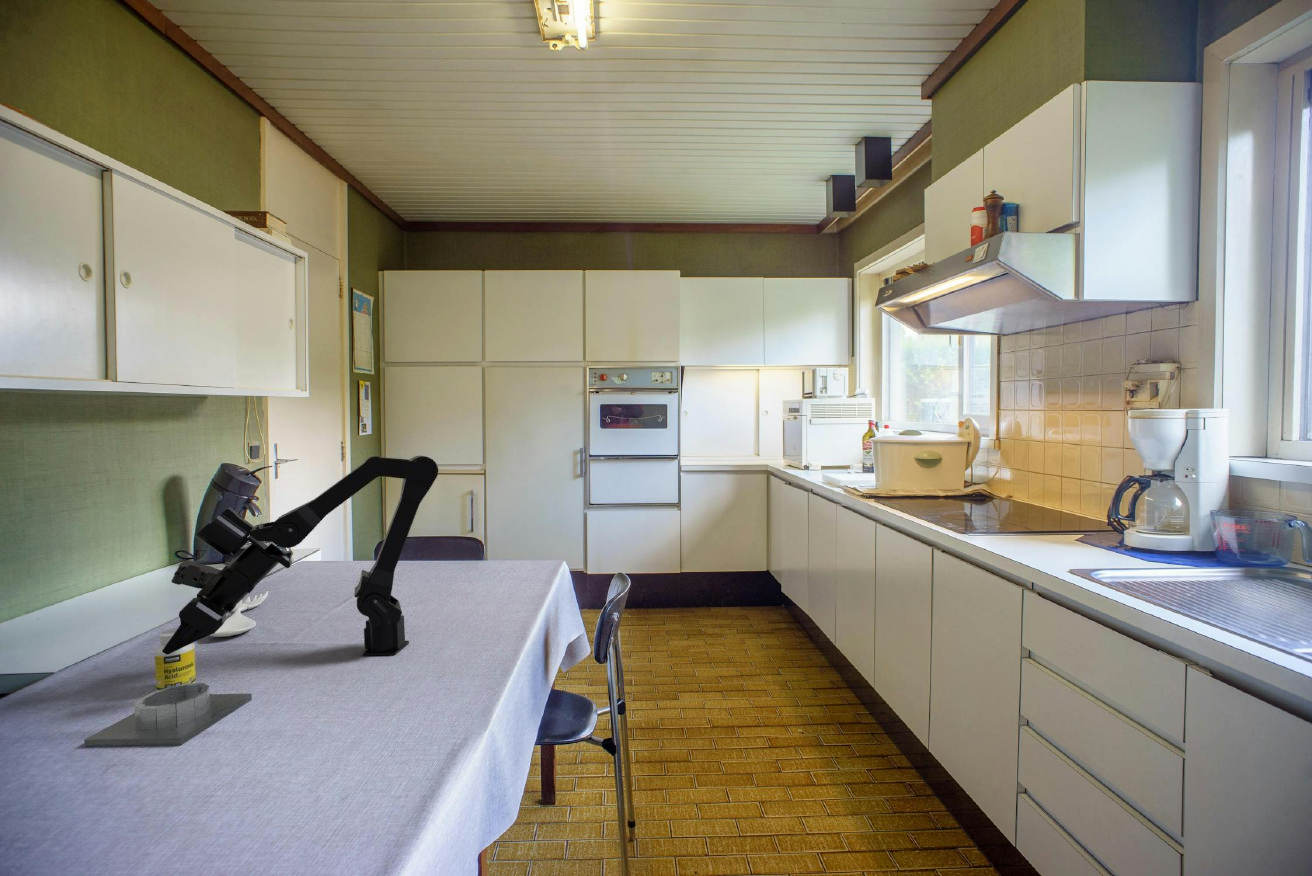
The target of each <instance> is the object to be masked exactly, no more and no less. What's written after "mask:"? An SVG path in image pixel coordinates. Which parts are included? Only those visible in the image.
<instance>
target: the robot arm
mask: <svg viewBox="0 0 1312 876" xmlns="http://www.w3.org/2000/svg"><path fill="white" fill-rule="evenodd" d="M438 474H439V466H438V464H437V462H436V461H435V460H434V459H433V458H431V457H429V456H425V455H415V456H413V457H411V458H410V459H408V458H407V459H406V458H395V457H394V458H393V457H383V456H382V457H381V456H379V455H372V456H369V457H367V458H366V460H365V461H364V462H362V463H361V464H360V465H359V466H358V467H356V468H355V469H353V470H352V471H351V472H350V473H349V472H348V474H347V475H345V476H344V477H343V478H341V479H340V480H338V481H337V482H336V483H334V484H333V485H331V486H330V487H329V488H327V489H326V490H325V491H323V492H321V494H319V495H318V496H317V497H315V498H314V499H312V500H310V501H308V502H306V503H303V504H301V505H300V506H297V507H295V508H294V509H292V510H290V511H289V510H288V512H286V513H284V514H281V515H280V516H279V517H277V519H276V520H275V521H270V522H265V523H264V522H263V523H262V522H261V523H260V524H255V525H253V524H252V523H250V522H249V521H248V520H246V519H245V518H244V517H242V516H240V515H239V513H238V512H237V511H236V510H234V509H233V508H232V507H228V508H226V509H225V510H224V511H222V513H221V514H219V515H218V516H217V517H215V518H214V519H213V520H211V521H209V522H208V523H207V524H206V525H204V526H203V528H201V530H199V532H198V533H197V534H195V538H197V539H198V540H200V541H201V542H203V543H204V544H205V545H207V546H208V547H210V548H211V549H213V550H214V551H215V552H217V553H218V554H220V555H222V556H223V557H224V556H225V555H226V554H227V555H228V556H230V554H231V555H232V556H235V554H237V553H238V552H239V551H240V550H241V549H242V548H243V547H244V546H245V545H246V544H247V543H250V545H248V547H246V549H244V550H243V551H242V552H241V553H240V554H239V555H238V556H236V558H235V559H233V561H232V562H231V563H230V564H226V565H225V566H224V567H223V568H222V569H219V568H216V567H213V566H209V565H206V564H203V563H199V562H195V561H191V560H183V561H182V562H181V563H180V564H179V565H178V567H177V569H176V571H175V572H174V573H173V577H172V579H171V581H170V582H171V583H173V584H175V585H177V586H179V585H183V586H187V587H191V588H195V589H199V591H198V593H197V594H196V597H193V598H192V599H190V601H188V602H187V604H186V605H184V607H183V608H181V610H180V611H179V612H178V617H179V619H180V620H179V621H180V624H179V626H178V627H177V628H176V629H177V630H176V632H175V633H174V635H173V636H172V637H171V639H170V640H169V642H168V643H167V644H166V646H165V647H164V649H163V650H162V652H163V653H165V654H167V655H168V654H170V653H172V652H175V651H177V650H179V649H181V648H183V647H185V646H187V645H189V644H191V643H195V642H198V641H200V640H201V639H204V638H206V637H211V636H210V635H211V634H214V633H215V632H216V631H217V630H218V629H219V628H220V627H221V626H222V625H223V624H224V622H225V621H226V619H227V614H228V612H229V613H231V612H232V610H233V609H234V608H235V606H236V605H237V604H238V603H239V602H240V601H241V600H242V601H243V599H244V598H245V597H246V596H247V595H248V594H250V593H251V592H253V590H254V589H255V588H256V586H257V585H258V584H259V583H260V582H261V581H262V580H264V578H266V576H268V574H269V573H271V571H272V570H273V569H275V567H276V566H277V565H278V564H280V565H282V566H283V567H284V568H286V569H289V568H291V566H292V564H293V562H292V555H293V551H291V550H289V551H284V550H282V549H281V548H284V549H289V548H290V549H291V548H295V547H297V546H298V545H299V544H301V543H302V542H303V541H304V540H305V539H306V538H307V537H308V536H309V535H310V533H311V532H312V531H314V529H315V528H316V527H317V526H318V525H319V524H320V523H321V521H322V520H324V518H325V517H326V516H327V515H329V514H330V513H331V512H333V511H334V510H335V509H337V508H338V507H340V505H342V504H344V502H346V501H347V500H349V499H350V498H351V497H353V496H354V495H355V494H356V493H358V492H359V491H361V490H362V489H363V488H364V487H366V486H368V484H369V485H370V483H371V482H373V481H374V480H375V479H377V478H378V477H385V478H392V479H393V478H394V479H395V478H396V479H402V484H401V491H400V497H399V500H398V502H397V505H396V507H395V511H394V513H393V515H392V518H391V521H390V524H389V526H388V529H387V531H386V533H385V536H384V540H383V541H382V544H381V547H380V550H379V552H378V555H377V558H376V559H375V563H374V564H373V566H372V567H371V569H370V570H369V571H367V570H365V569H362V570H361V574H360V579H359V582H357V585H356V586H355V587H354V598H356V608H357V610H358V613H360V614H361V615H363V616H365V617H367V618H368V619H367V620H365V627H364V628H363V643H364V649H365V650H364V651H362V656H393V655H396V654H398V653H400V651H401V650H403V649H404V648H405V647H406V646H407V645H409V644H410V640H406V633H405V630H406V629H405V615H403V611H402V607H401V604H400V601H399V600H398V599H397V598H396V597H394V595H392V591H393V584H394V575H395V570H396V567H397V565H398V563H399V560H400V557H401V554H402V552H403V549H404V547H405V544H406V541H407V539H408V537H409V534H410V530H411V527H412V525H413V522H414V520H415V518H416V515H417V512H418V509H419V506H420V505H421V503H422V501H423V499H425V497H426V495H427V493H429V491H430V489H431V488H432V487H433V485H434V482H435V481H436V479H437V477H438ZM264 542H267V543H269V544H266V543H264ZM279 547H280V548H279Z"/></svg>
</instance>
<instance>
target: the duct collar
mask: <svg viewBox="0 0 1312 876" xmlns="http://www.w3.org/2000/svg"><path fill="white" fill-rule="evenodd" d="M252 697H253V695H252V693H211V694H210V686H209V685H208V684H206V683H204V682H195V683H189V684H188V683H187V684H182V685H177V686H171V687H168V688H165V689H161V690H158V691H156V690H155V691H152V692H150V693H148V694H147V695H144V696H143V697H141V698H139V699H137V701H136V702H135V703H134V705H133V706H134V712H133V713H132V714H130V715H128V716H126V717H124V718H122V719H120V720H119V721H117V722H115V723H112V724H111V725H109V726H107V727H106V728H104V729H102V730H100V731H98V732H96V733H94V734H92V735H91V736H89V737H87V738H85V739H84V743H83V744H84V747H86V748H89V747H148V746H149V747H153V746H154V747H155V746H157V747H159V746H161V747H162V746H163V747H164V746H165V747H166V746H182V745H183V744H185V743H187V742H188V741H190V740H192V739H193V738H195V737H197V736H198V735H199V734H202V732H204V731H205V730H207V729H208V728H210V727H212V726H213V725H215V724H216V723H218V722H219V721H221V720H223V719H224V718H226V717H227V716H228V715H231V714H232V713H233V712H235V711H236V710H238V709H240V708H241V707H243V706H244V705H245V704H247V703H248V702H251V701H252V700H253V699H252Z"/></svg>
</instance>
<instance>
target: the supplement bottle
mask: <svg viewBox="0 0 1312 876" xmlns="http://www.w3.org/2000/svg"><path fill="white" fill-rule="evenodd" d="M177 629H178V628H174V629H173V628H172V629H169V630H166V631H162V632H160V633H159V635H158V637H159V638H158V639H159V640H158V641H159V644H161V645H159V646H157V647H156V649H155V650H154V668H155V669H154V671H155V673H154V674H155V691H158V690H161V689H165V688H168V687H171V686H177V685H182V684H187V683H188V684H189V683H197V682H196V679H197V678H196V675H197V674H196V673H197V672H196V655H195V652H196V651H195V650H196V648H195V642H193V643H191V644H189V645H187V646H185V647H183V648H181V649H179V650H177V651H175V652H172V653H170V654H168V655H167V654H165V653H163V652H162V650H163V649H164V647H165V646H166V644H167V643H168V642H169V640H170V639H171V637H172V636H173V635H174V633H175V632H176V630H177Z"/></svg>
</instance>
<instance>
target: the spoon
mask: <svg viewBox="0 0 1312 876" xmlns="http://www.w3.org/2000/svg"><path fill="white" fill-rule="evenodd" d="M268 596H269V591H268V590H267V591H266V592H265V593H264V594H262V593H260V595H259V596H258V597H257V594H256V595H255V596H254V597H253V600H251V597H250V596H248V597H246V599H245V601H243V599H242V600H241V601H240V602H239V603H238V604H237V605H236V606H235V608H234V609H233V610H232V611H231V612H233V614H232V615H231V616H229V617H228V618H226V621H225V622H224V624H223V625H222V626H221V627H220V628H219V629H218V630H217V631H216V632H215V633H214V634H211V635H210V636H209V637H215V638H222V637H223V638H224V637H232V636H233V635H234V636H237V635H240V634H243V633H245V632H248V631H250V630H251V629H253V628H254V627H256V625H257V622H256V621H255V620H253V619H251V618H250V617H247V616H245V615H244V614H242V613H241V612H244V611H247V609H248V610H252V609H253V608H256V607H258V606H260V604H262V603H263V602H264V601H265V599H266V598H267V597H268ZM234 636H233V637H234Z"/></svg>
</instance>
